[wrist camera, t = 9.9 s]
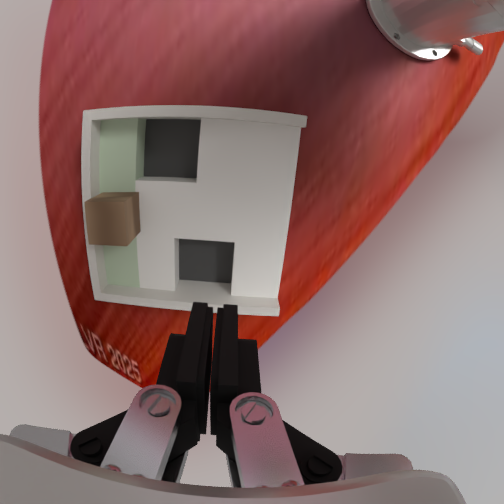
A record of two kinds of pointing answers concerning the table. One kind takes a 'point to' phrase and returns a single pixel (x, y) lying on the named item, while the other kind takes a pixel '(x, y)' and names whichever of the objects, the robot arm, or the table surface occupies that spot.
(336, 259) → the table surface
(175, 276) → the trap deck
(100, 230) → the walnut block
